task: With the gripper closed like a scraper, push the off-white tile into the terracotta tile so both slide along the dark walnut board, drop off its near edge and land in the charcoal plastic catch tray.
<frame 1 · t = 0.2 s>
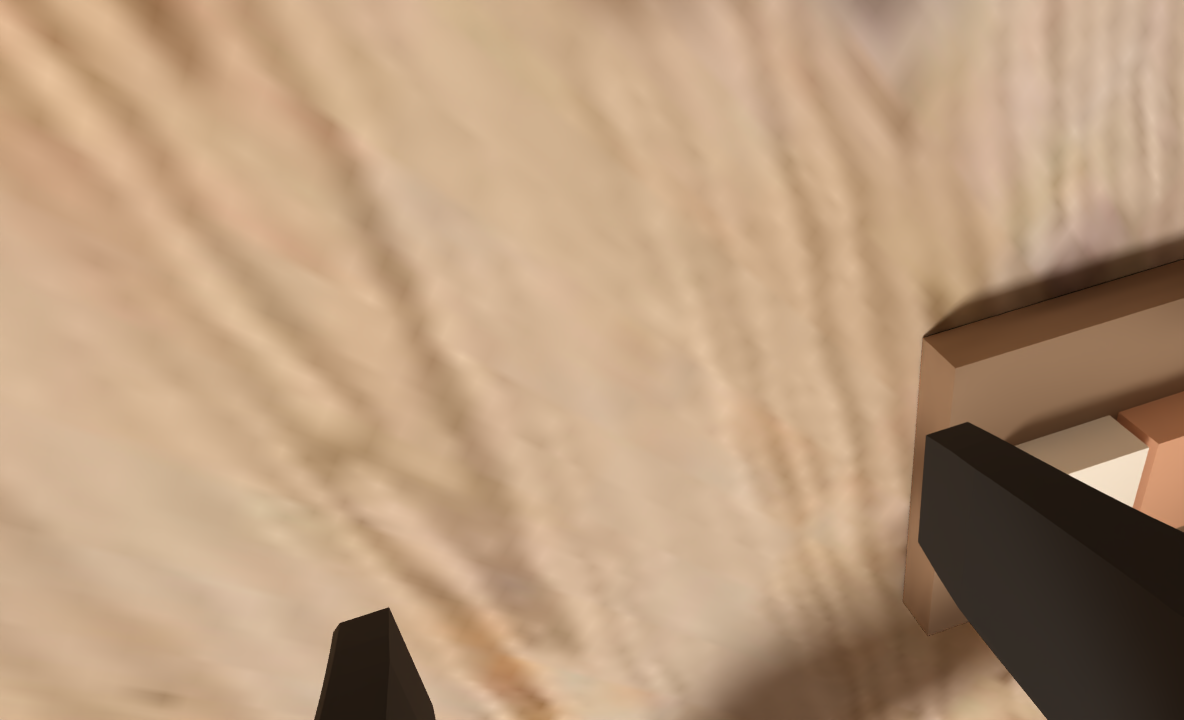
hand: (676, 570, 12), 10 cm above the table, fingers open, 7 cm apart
terracotta tile: (1164, 444, 27), point 1 cm above the table, touching walnut board
walnut board: (1057, 437, 28), on the table
offwhite tile: (1037, 486, 27), point 1 cm above the table, touching walnut board
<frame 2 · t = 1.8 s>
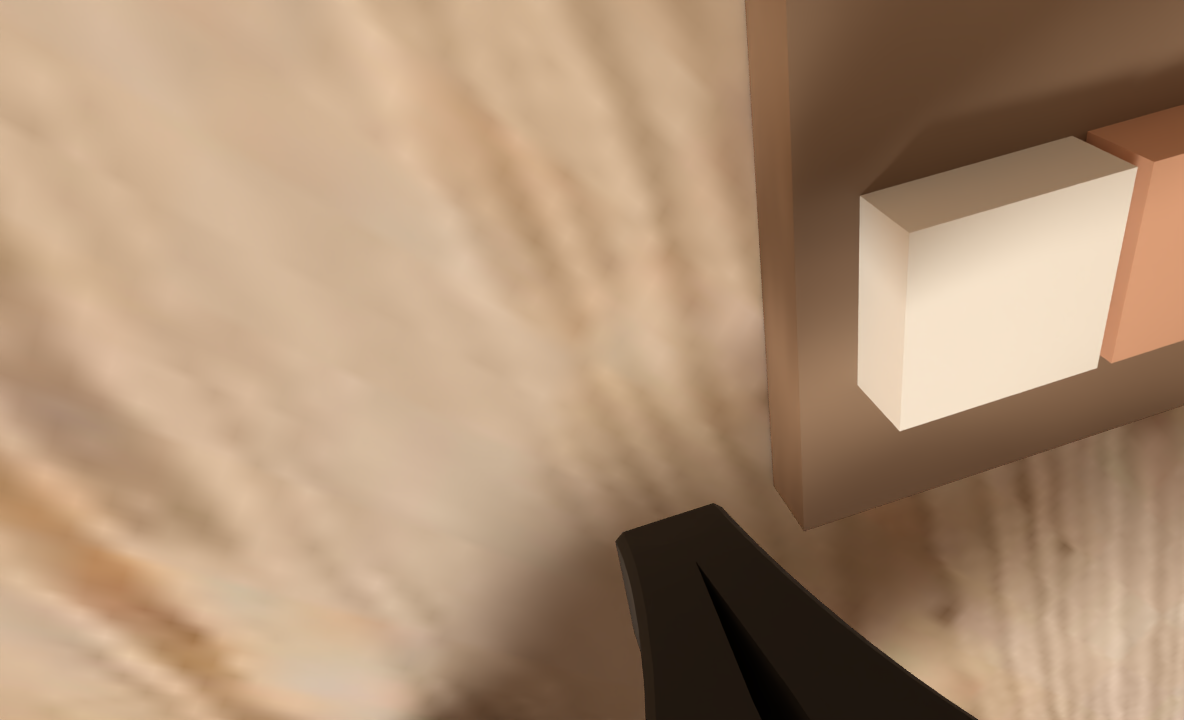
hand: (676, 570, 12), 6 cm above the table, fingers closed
terracotta tile: (1164, 205, 17), point 1 cm above the table, touching walnut board
walnut board: (996, 209, 18), on the table
offwhite tile: (959, 267, 17), point 1 cm above the table, touching walnut board
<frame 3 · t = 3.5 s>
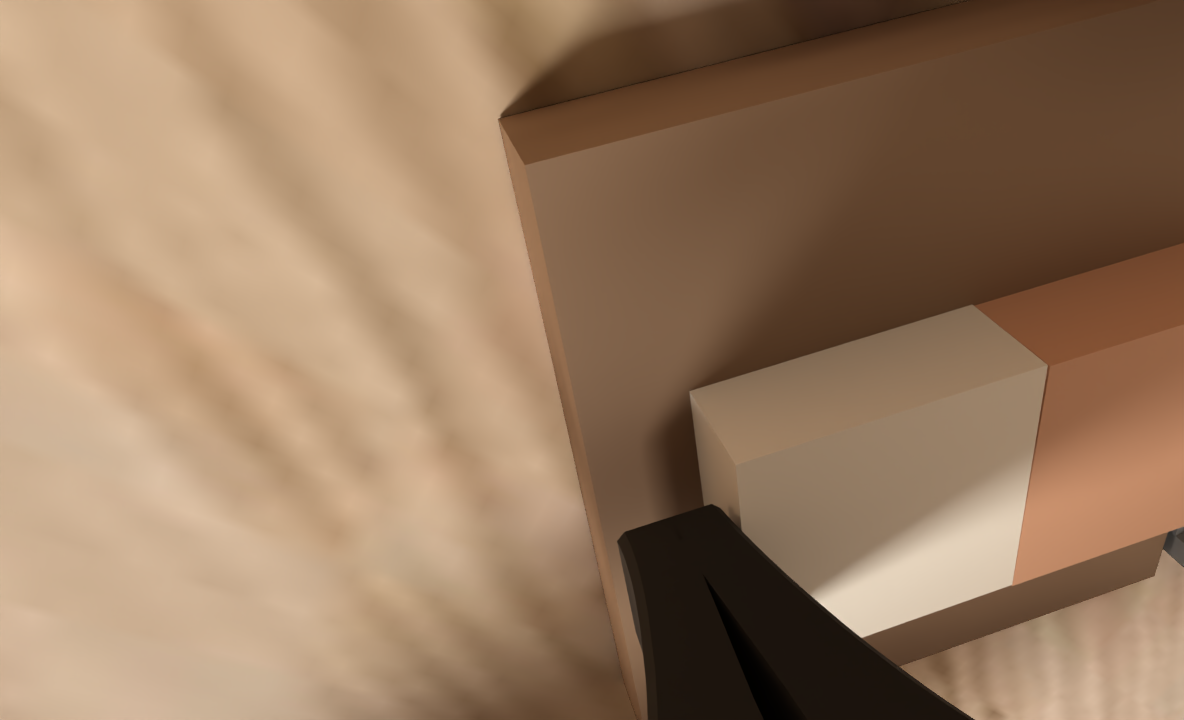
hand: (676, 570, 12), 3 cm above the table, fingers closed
terracotta tile: (1083, 381, 14), point 1 cm above the table, touching walnut board
walnut board: (877, 374, 14), on the table
offwhite tile: (834, 460, 13), point 2 cm above the table, touching gripper
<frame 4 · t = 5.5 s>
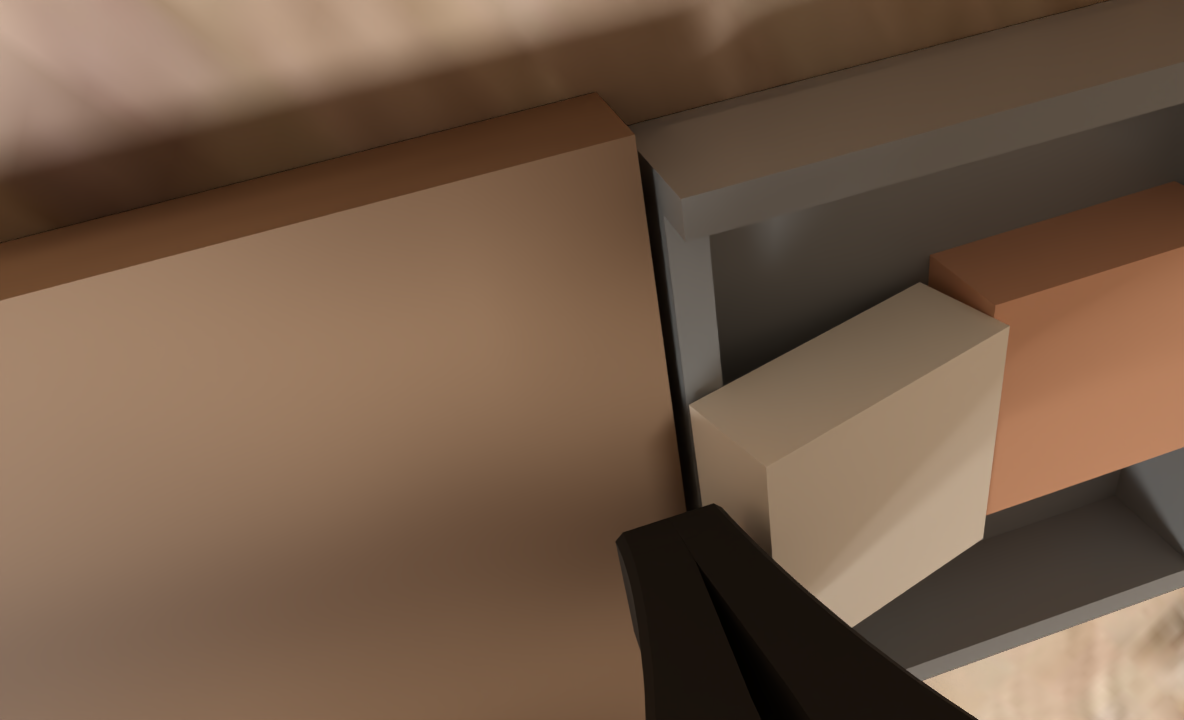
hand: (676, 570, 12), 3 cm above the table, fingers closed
catch tray: (930, 356, 14), on the table
terracotta tile: (1037, 329, 14), resting on catch tray
walnut board: (327, 542, 13), on the table
offwhite tile: (813, 450, 13), point 1 cm above the table, tilted 15°, touching catch tray
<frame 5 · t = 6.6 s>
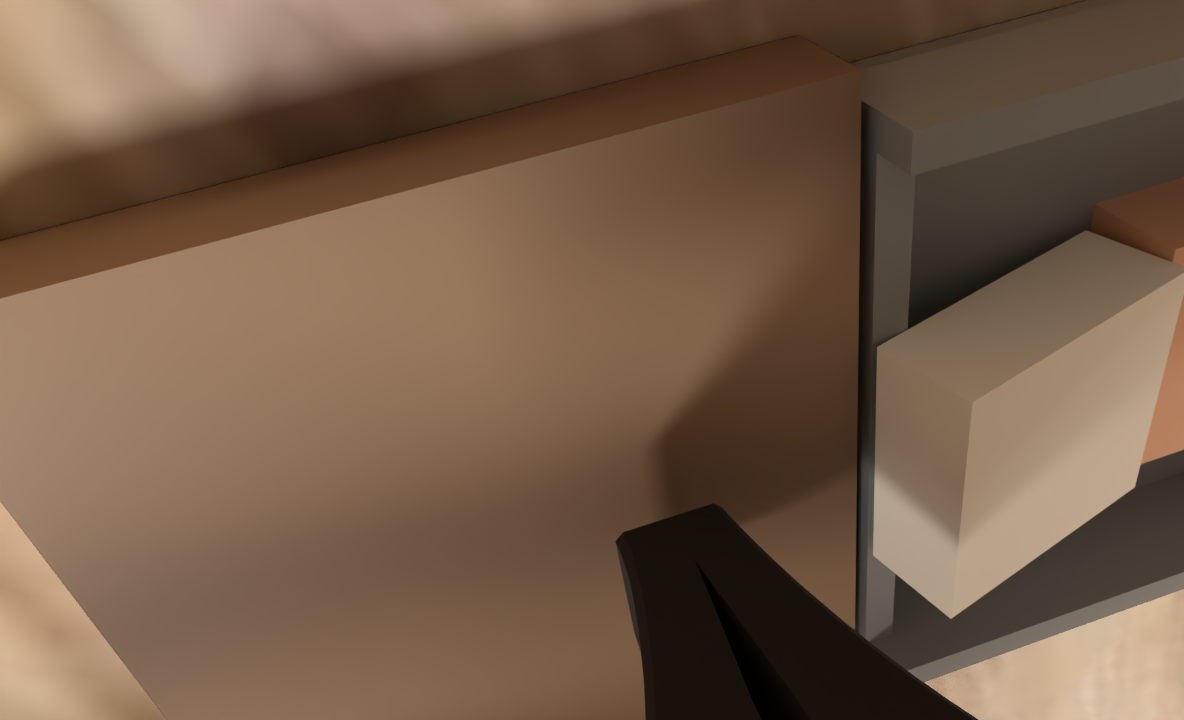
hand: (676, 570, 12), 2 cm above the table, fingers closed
catch tray: (1078, 309, 15), on the table
walnut board: (496, 490, 13), on the table
offwhite tile: (975, 399, 13), point 1 cm above the table, tilted 15°, touching catch tray, terracotta tile
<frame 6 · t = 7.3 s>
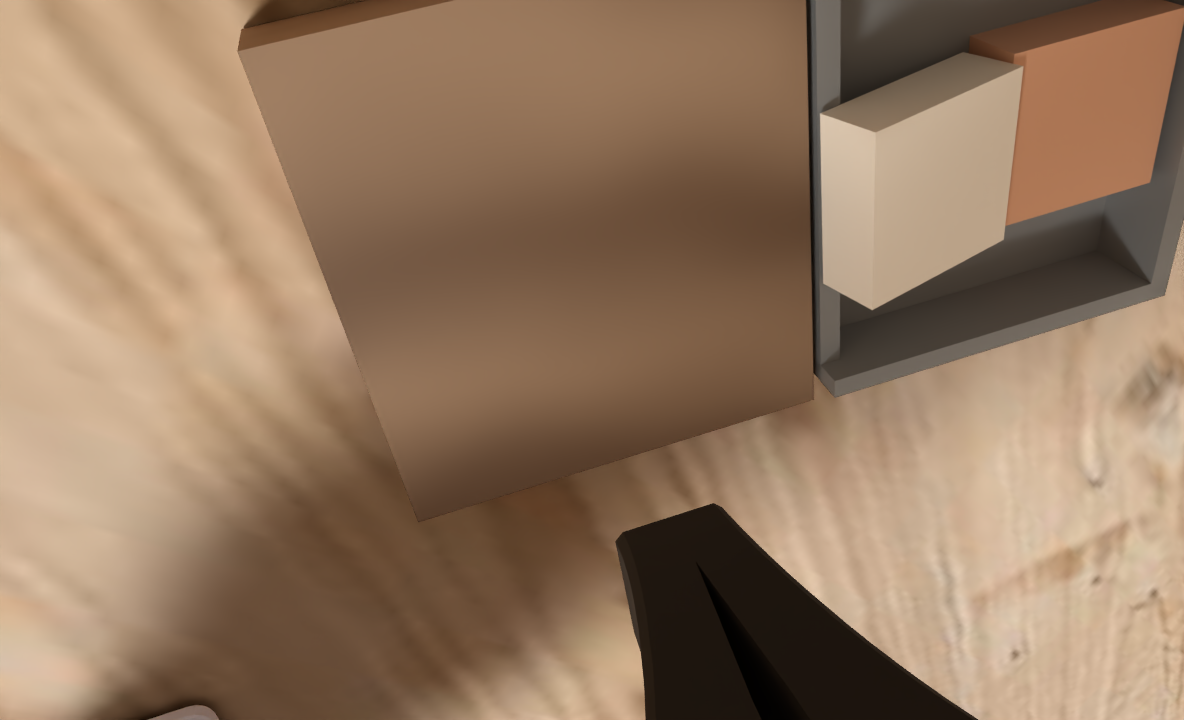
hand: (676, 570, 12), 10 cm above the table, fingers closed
catch tray: (967, 121, 21), on the table
terracotta tile: (1041, 101, 21), resting on catch tray, touching offwhite tile
walnut board: (567, 230, 20), on the table
offwhite tile: (891, 170, 20), point 1 cm above the table, tilted 15°, touching catch tray, terracotta tile
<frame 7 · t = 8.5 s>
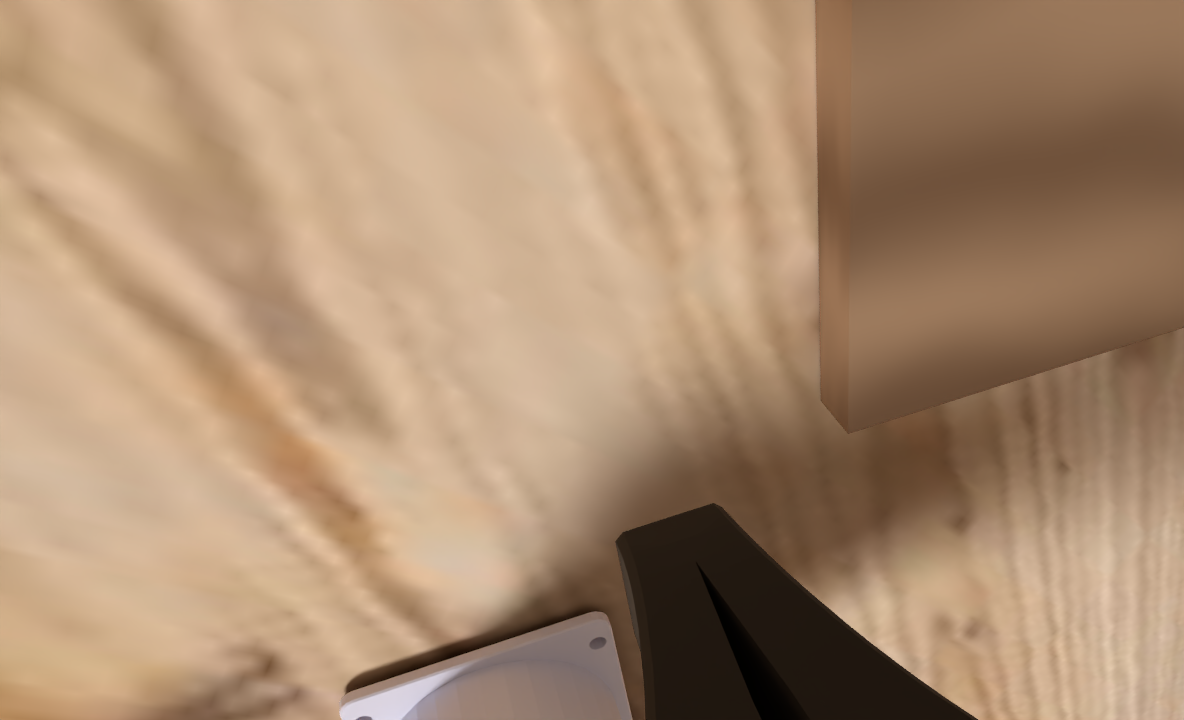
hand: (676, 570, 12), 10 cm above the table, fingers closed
walnut board: (1007, 167, 22), on the table
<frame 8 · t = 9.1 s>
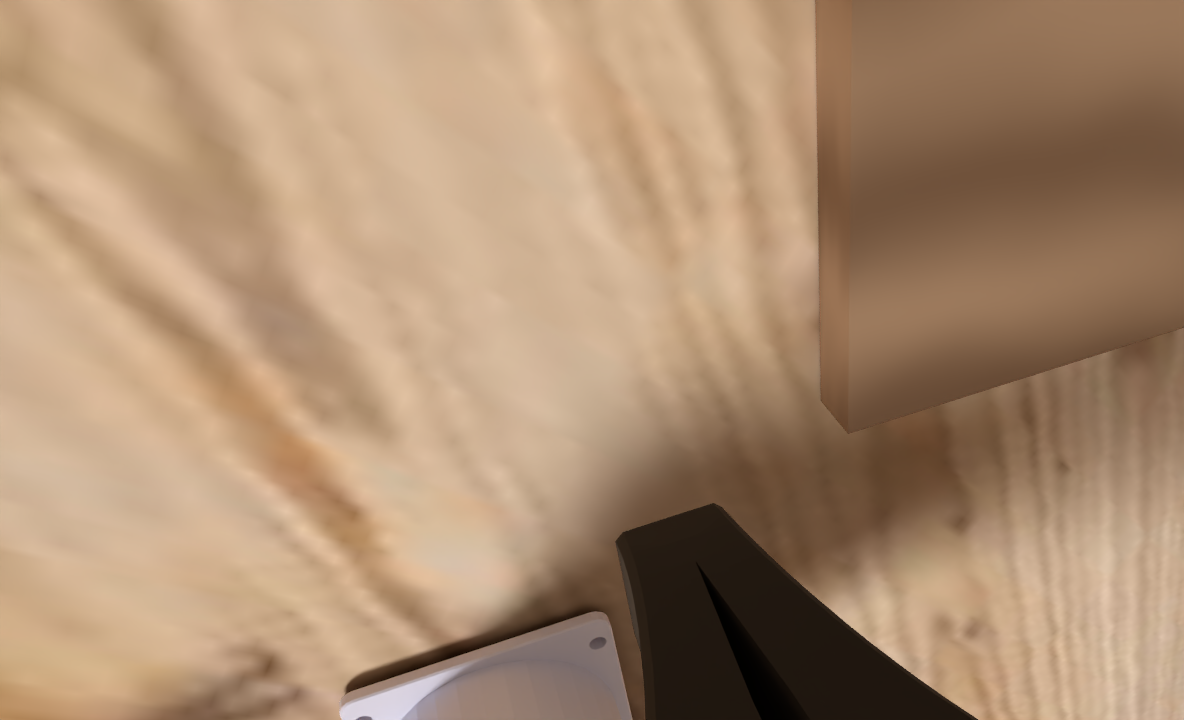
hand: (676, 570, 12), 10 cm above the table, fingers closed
walnut board: (1007, 167, 22), on the table
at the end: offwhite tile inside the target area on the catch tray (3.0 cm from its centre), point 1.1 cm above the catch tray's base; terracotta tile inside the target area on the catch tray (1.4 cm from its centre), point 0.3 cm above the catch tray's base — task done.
